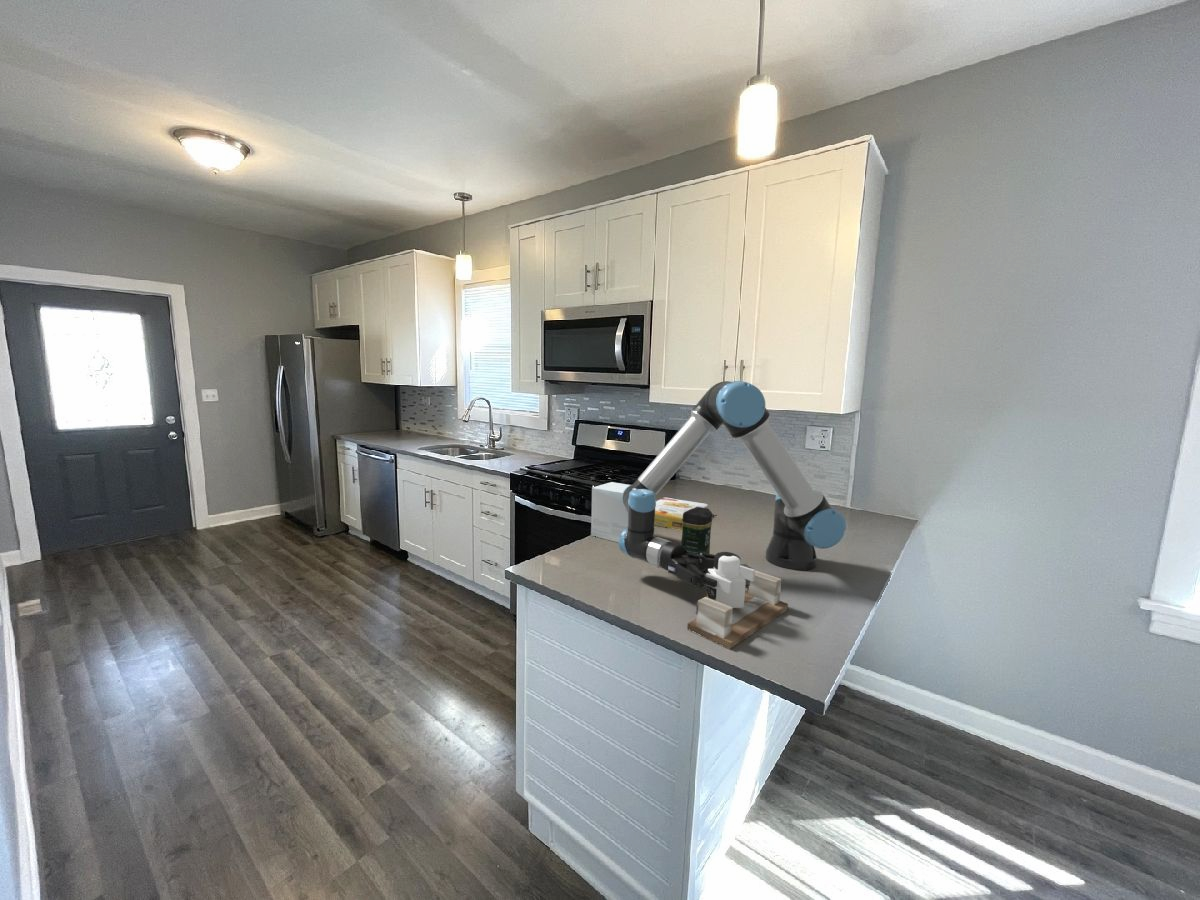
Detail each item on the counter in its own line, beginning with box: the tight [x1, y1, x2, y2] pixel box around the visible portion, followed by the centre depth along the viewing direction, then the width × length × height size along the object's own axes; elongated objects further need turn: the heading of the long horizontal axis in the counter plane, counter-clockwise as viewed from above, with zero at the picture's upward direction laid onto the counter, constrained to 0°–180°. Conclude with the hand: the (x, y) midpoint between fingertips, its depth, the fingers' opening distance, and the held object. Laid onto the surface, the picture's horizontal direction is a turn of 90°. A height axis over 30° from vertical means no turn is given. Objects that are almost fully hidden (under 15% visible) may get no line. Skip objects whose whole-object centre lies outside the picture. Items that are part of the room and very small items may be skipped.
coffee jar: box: [681, 507, 713, 573], centre depth 144 cm, size 10×8×19 cm
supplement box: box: [590, 481, 631, 543], centre depth 172 cm, size 17×13×18 cm
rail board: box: [686, 570, 789, 650], centre depth 114 cm, size 27×11×8 cm, turn 134°
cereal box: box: [654, 497, 709, 531], centre depth 197 cm, size 20×6×28 cm
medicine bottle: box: [705, 551, 747, 608], centre depth 116 cm, size 7×7×12 cm
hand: (742, 581), depth 113 cm, fingers closed on medicine bottle, 10 cm apart
